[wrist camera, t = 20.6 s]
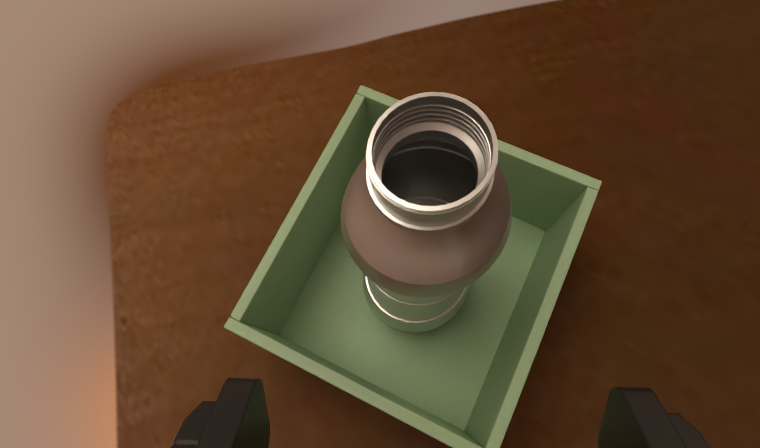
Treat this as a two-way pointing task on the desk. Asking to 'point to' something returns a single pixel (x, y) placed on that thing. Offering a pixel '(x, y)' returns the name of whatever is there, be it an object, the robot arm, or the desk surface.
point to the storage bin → (429, 348)
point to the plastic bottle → (426, 209)
